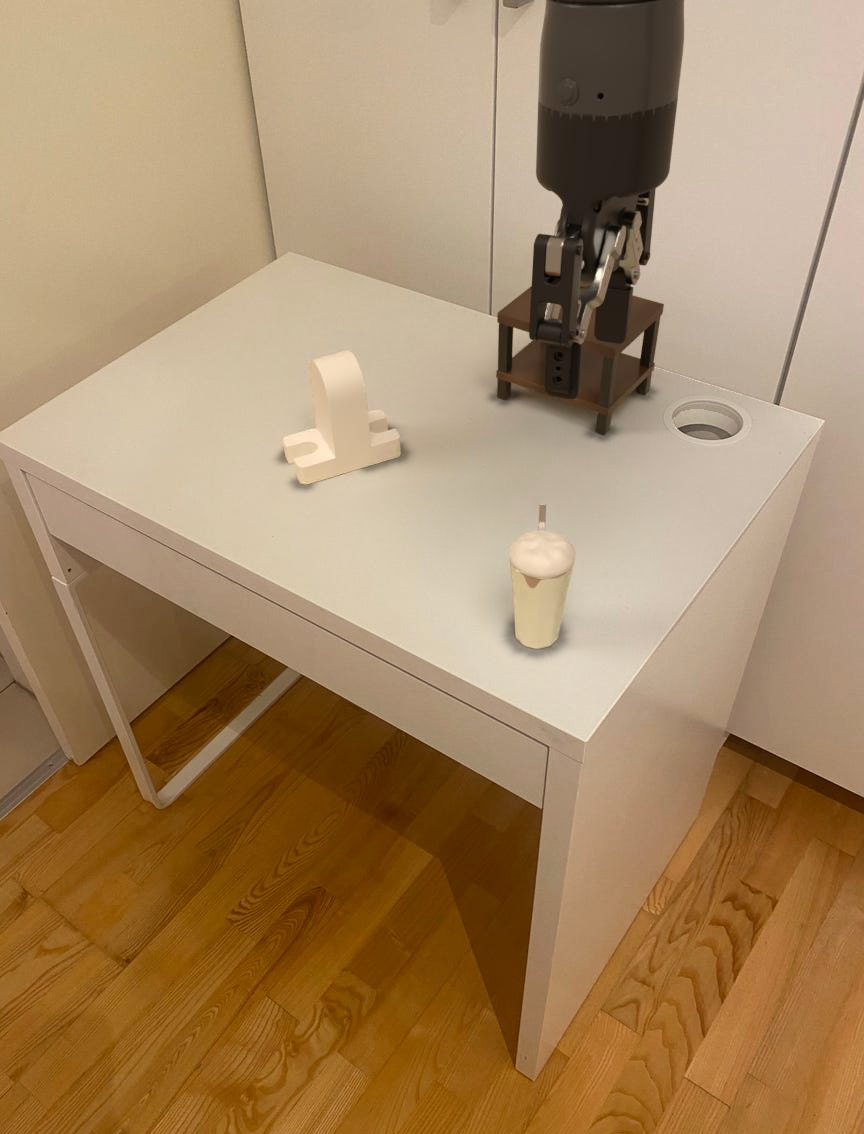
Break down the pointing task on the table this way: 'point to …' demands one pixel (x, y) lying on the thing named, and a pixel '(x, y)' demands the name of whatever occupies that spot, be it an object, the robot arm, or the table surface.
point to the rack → (604, 363)
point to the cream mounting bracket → (340, 424)
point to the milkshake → (540, 583)
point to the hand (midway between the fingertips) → (587, 366)
